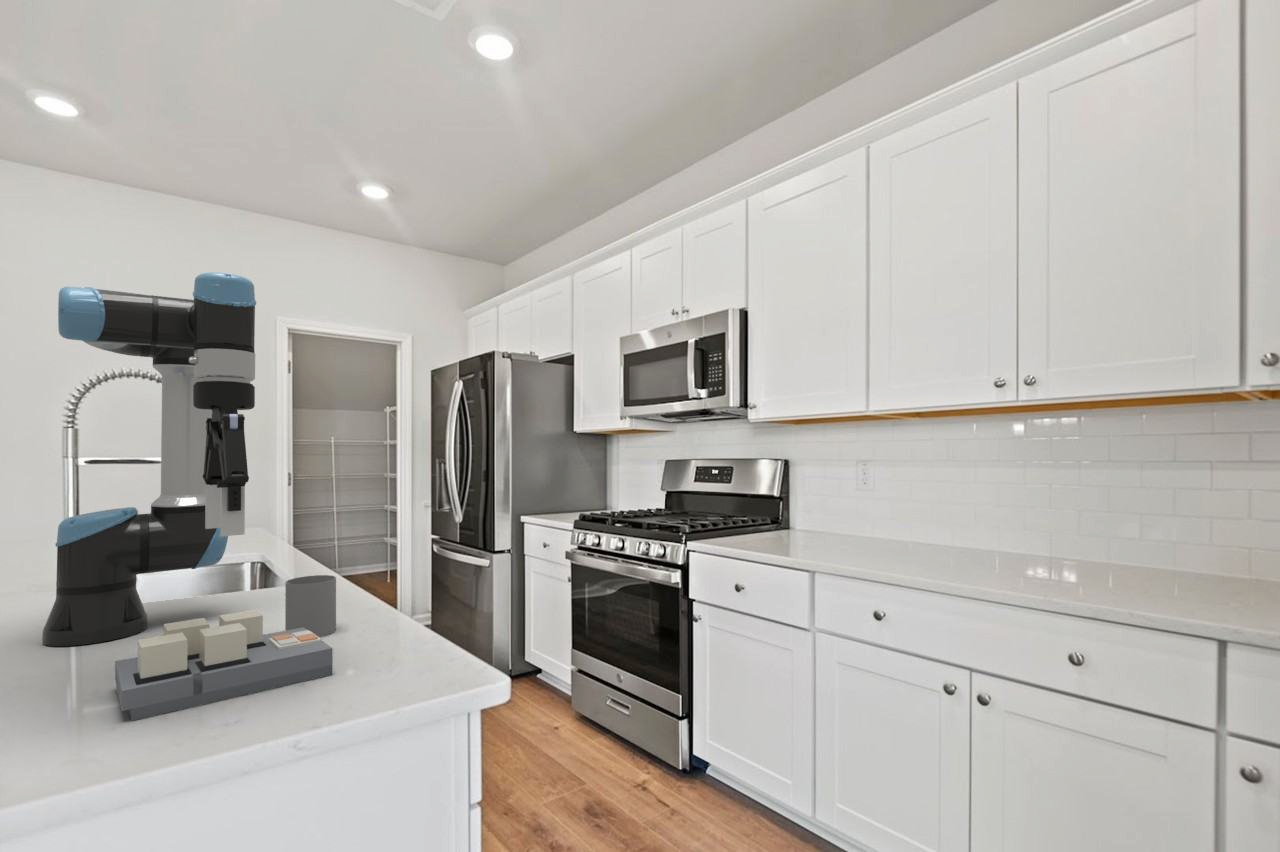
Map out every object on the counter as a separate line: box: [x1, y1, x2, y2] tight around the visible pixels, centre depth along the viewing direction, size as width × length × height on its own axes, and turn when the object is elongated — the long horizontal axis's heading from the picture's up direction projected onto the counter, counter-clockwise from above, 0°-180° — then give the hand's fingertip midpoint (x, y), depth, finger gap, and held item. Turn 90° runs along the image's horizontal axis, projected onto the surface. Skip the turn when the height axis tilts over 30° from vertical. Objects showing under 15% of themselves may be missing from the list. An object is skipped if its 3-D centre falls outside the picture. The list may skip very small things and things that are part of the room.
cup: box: [284, 574, 337, 638], centre depth 121 cm, size 8×8×10 cm
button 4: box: [218, 609, 264, 644], centre depth 101 cm, size 5×5×4 cm
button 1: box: [137, 632, 187, 679], centre depth 88 cm, size 5×5×4 cm
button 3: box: [199, 623, 247, 666], centre depth 93 cm, size 5×5×4 cm
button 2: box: [163, 617, 210, 655], centre depth 96 cm, size 5×5×4 cm
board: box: [114, 627, 333, 722], centre depth 96 cm, size 16×25×5 cm, turn 131°
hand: (224, 531), depth 93 cm, fingers open, 12 cm apart
